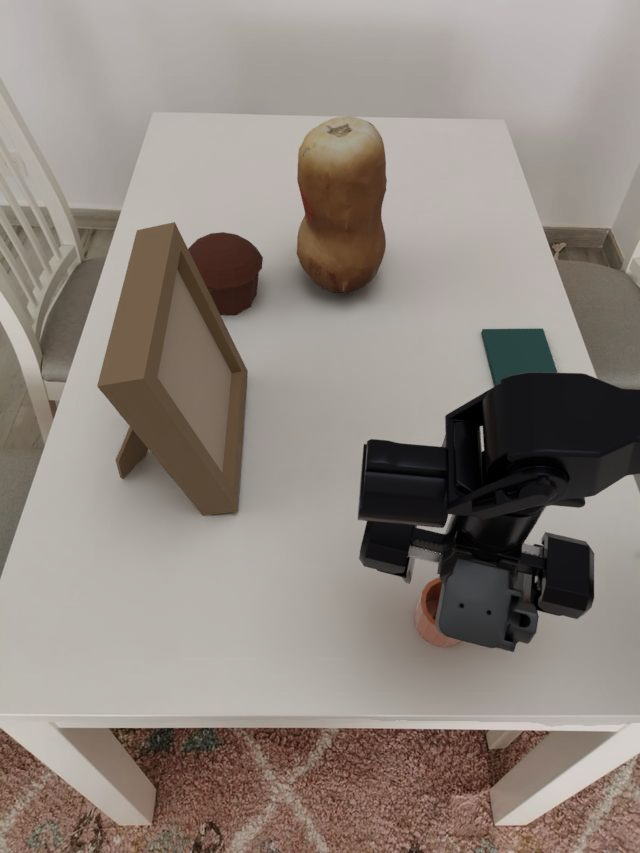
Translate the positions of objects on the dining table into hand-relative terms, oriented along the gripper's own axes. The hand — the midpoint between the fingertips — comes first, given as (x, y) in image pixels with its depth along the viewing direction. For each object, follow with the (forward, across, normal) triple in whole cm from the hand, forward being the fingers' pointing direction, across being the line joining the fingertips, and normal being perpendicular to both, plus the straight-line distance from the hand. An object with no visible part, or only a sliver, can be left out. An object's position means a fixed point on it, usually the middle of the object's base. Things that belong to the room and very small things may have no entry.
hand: (456, 590), depth 59 cm
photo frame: (+9, -35, +15) cm, 39 cm away
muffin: (+9, -39, +42) cm, 58 cm away
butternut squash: (+9, -23, +50) cm, 56 cm away
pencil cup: (+9, 0, 0) cm, 9 cm away
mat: (+9, +7, +36) cm, 38 cm away
